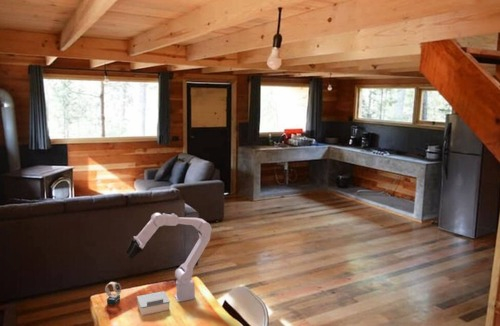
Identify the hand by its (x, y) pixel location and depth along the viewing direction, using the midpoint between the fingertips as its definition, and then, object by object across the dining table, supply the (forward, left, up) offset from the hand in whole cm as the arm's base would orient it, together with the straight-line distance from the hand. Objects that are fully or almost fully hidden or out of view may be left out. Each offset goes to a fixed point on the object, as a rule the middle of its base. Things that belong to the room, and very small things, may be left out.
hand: (128, 255), depth 205 cm
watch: (+7, -12, -30) cm, 33 cm away
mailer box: (-11, +2, -29) cm, 32 cm away
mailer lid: (-11, +2, -25) cm, 28 cm away
